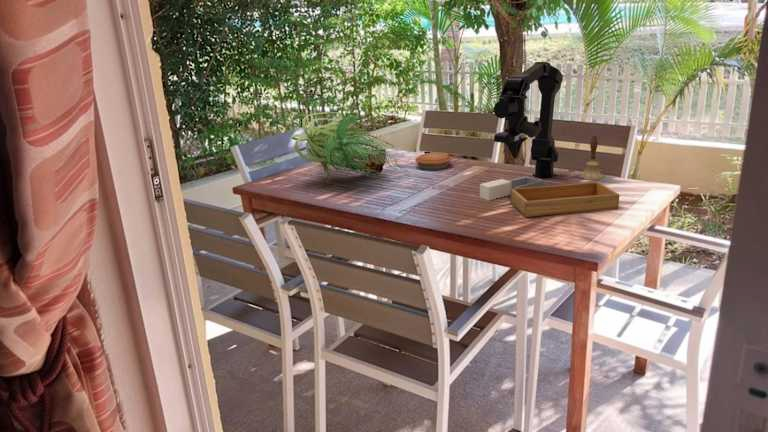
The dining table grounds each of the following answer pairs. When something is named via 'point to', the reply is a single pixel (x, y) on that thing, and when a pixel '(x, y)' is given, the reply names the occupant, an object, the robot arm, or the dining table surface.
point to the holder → (526, 182)
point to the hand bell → (592, 163)
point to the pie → (433, 161)
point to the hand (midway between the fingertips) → (515, 158)
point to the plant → (344, 147)
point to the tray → (564, 199)
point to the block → (495, 189)
